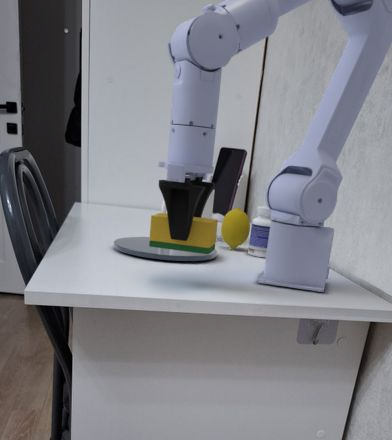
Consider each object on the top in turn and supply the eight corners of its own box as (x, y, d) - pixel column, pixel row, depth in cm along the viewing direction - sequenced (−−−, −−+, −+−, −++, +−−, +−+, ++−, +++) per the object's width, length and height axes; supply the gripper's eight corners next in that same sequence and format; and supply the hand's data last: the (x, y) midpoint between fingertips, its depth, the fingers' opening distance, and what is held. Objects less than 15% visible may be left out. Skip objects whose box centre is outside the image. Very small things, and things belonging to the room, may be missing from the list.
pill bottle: (274, 259, 100) (281, 210, 97) (246, 255, 101) (252, 206, 98) (276, 255, 105) (283, 208, 102) (249, 251, 106) (255, 205, 103)
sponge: (214, 249, 74) (218, 219, 73) (208, 254, 70) (211, 222, 69) (158, 242, 75) (160, 212, 74) (148, 246, 71) (151, 215, 70)
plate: (223, 252, 103) (224, 245, 102) (204, 268, 86) (205, 260, 85) (132, 239, 106) (133, 233, 105) (97, 253, 89) (97, 245, 88)
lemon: (236, 246, 111) (241, 206, 108) (252, 251, 106) (258, 210, 104) (213, 246, 108) (218, 205, 105) (229, 251, 103) (234, 208, 101)
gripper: (176, 128, 75) (168, 227, 80) (145, 119, 62) (137, 240, 66) (226, 133, 74) (215, 233, 78) (205, 125, 60) (194, 247, 65)
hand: (183, 237), depth 72 cm, fingers closed on sponge, 4 cm apart
